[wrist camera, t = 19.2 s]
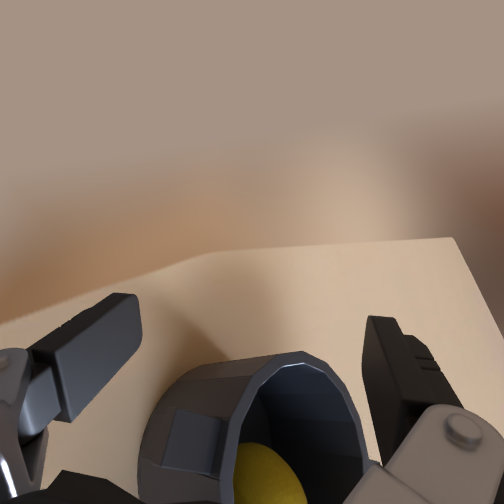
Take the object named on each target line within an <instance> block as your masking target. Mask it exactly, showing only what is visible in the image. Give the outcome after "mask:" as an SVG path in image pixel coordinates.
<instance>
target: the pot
mask: <svg viewBox="0 0 504 504" xmlns="http://www.w3.org/2000/svg"><path fill="white" fill-rule="evenodd" d="M249 442H253V443H258V444H261V445H264V446H266V447H268V448H270V449H272V450H273V451H274V452H276V453H277V454H278V455H279V456H280V457H281V458H282V459H283V460H284V461H285V462H286V463H287V464H288V465H289V466H290V468H291V469H292V470H293V472H294V473H295V475H296V476H297V478H298V480H299V482H300V484H301V486H302V488H303V490H304V493H305V496H306V499H307V504H343V502H344V501H345V500H346V498H347V497H348V496H349V494H350V493H351V492H352V490H353V489H354V488H355V486H356V485H357V484H358V482H359V481H360V480H361V478H362V477H363V476H364V474H365V473H366V472H367V471H368V469H369V468H370V467H371V466H372V465H374V464H375V463H378V464H380V462H377V461H374V460H370V459H369V457H368V452H367V447H366V443H365V438H364V434H363V429H362V425H361V420H360V417H359V414H358V412H357V410H356V408H355V405H354V403H353V401H352V399H351V396H350V394H349V392H348V390H347V388H346V386H345V384H344V383H343V382H342V380H341V379H340V378H339V377H338V376H337V374H336V373H335V372H334V371H333V370H332V368H331V367H330V366H329V365H328V364H327V363H326V362H324V361H322V360H320V359H318V358H316V357H314V356H312V355H310V354H308V353H306V352H304V351H298V352H290V353H282V354H275V355H268V356H261V357H254V358H247V359H240V360H233V361H227V362H220V363H213V364H206V365H201V366H199V367H197V368H195V369H193V370H191V371H189V372H187V373H186V374H184V375H183V376H182V377H180V378H179V379H178V380H176V381H175V382H174V383H173V384H172V385H171V386H170V387H169V389H168V390H167V391H166V392H165V394H164V395H163V396H162V397H161V399H160V401H159V402H158V404H157V405H156V407H155V409H154V411H153V413H152V415H151V417H150V419H149V421H148V424H147V426H146V429H145V432H144V435H143V439H142V443H141V446H140V453H139V459H138V473H137V479H138V493H139V498H140V501H142V502H144V503H146V504H166V503H179V502H191V501H204V500H208V501H213V502H217V503H222V504H234V493H233V482H232V477H233V471H234V465H235V459H236V453H237V447H238V445H239V444H241V443H249Z"/></svg>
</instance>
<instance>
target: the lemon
mask: <svg viewBox="0 0 504 504" xmlns="http://www.w3.org/2000/svg"><path fill="white" fill-rule="evenodd" d="M232 482H233V493H234V504H307V499H306V496H305V493H304V490H303V488H302V486H301V484H300V482H299V480H298V478H297V476H296V475H295V473H294V472H293V470H292V469H291V468H290V466H289V465H288V464H287V463H286V462H285V461H284V460H283V459H282V458H281V457H280V456H279V455H278V454H277V453H276V452H274V451H273V450H272V449H270V448H268V447H266V446H264V445H261V444H258V443H253V442H249V443H241V444H239V445H238V447H237V453H236V459H235V465H234V471H233V477H232Z"/></svg>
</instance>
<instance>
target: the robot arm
mask: <svg viewBox="0 0 504 504" xmlns="http://www.w3.org/2000/svg"><path fill="white" fill-rule="evenodd" d="M141 341H142V324H141V316H140V308H139V301H138V298H137V296H136V295H135V294H126V293H112V294H110V295H109V296H107V297H106V298H105V299H103V300H102V301H100V302H99V303H97V304H96V305H94V306H93V307H91V308H88V309H86V310H84V311H82V312H80V313H79V314H77V315H76V316H74V317H73V318H71V320H68V321H67V322H66V323H64V324H63V325H61V327H58V328H57V329H55V330H54V331H52V332H51V333H49V334H48V335H46V336H45V337H43V338H42V339H40V340H39V341H37V342H36V343H34V344H33V345H31V346H30V347H28V348H27V349H22V348H7V349H2V350H0V504H146V503H144V502H142V501H140V500H139V499H137V498H136V497H134V496H133V495H131V494H129V493H128V492H126V491H125V490H123V489H121V488H120V487H118V486H117V485H115V484H113V483H112V482H110V481H109V480H107V479H103V478H99V477H94V476H89V475H84V474H80V473H75V472H70V471H65V470H62V471H61V472H60V473H59V475H58V476H57V477H56V478H55V480H54V481H53V482H52V483H51V485H50V486H49V487H48V488H47V489H43V490H40V487H41V481H42V475H43V468H44V462H45V456H46V450H47V444H48V437H49V432H48V428H47V425H48V424H49V423H50V422H51V421H52V420H56V421H62V422H67V423H71V422H72V421H73V420H74V419H75V418H76V417H77V416H78V415H79V414H80V413H81V411H82V410H83V409H84V408H85V407H86V406H87V405H88V404H89V403H90V401H91V400H92V399H93V398H94V397H95V396H96V395H97V394H98V393H99V392H100V390H101V389H102V388H103V387H104V386H105V385H106V384H107V383H108V382H109V381H110V379H111V378H112V377H113V376H114V375H115V374H116V373H117V372H118V371H119V369H120V368H121V367H122V366H123V365H124V364H125V363H126V362H127V361H128V360H129V358H130V357H131V356H132V355H133V354H134V353H135V352H136V351H137V349H138V348H139V346H140V344H141ZM362 377H363V382H364V386H365V391H366V395H367V399H368V404H369V408H370V413H371V417H372V421H373V426H374V430H375V435H376V439H377V443H378V448H379V452H380V456H381V461H382V465H383V467H382V466H381V465H380V464H378V463H375V464H374V465H372V466H371V467H370V468H369V469H368V471H367V472H366V473H365V474H364V476H363V477H362V478H361V480H360V481H359V482H358V484H357V485H356V486H355V488H354V489H353V490H352V492H351V493H350V494H349V496H348V497H347V498H346V500H345V501H344V502H343V504H504V439H503V437H502V436H501V434H500V433H499V432H498V431H497V430H496V429H495V428H494V427H493V426H492V425H491V424H489V423H488V422H487V421H485V420H484V419H482V418H481V417H479V416H478V415H476V414H474V413H472V412H470V411H468V410H466V409H464V407H463V405H462V404H461V402H460V400H459V399H458V397H457V396H456V394H455V392H454V391H453V389H452V387H451V386H450V384H449V382H448V381H447V379H446V377H445V376H444V374H443V372H441V371H440V367H439V366H438V364H437V362H436V361H434V357H433V356H432V354H431V353H430V351H429V349H428V348H427V346H426V345H424V344H423V343H422V342H421V341H419V340H418V339H417V338H416V337H414V336H413V335H403V333H402V331H401V329H400V327H399V325H398V323H397V321H396V319H395V318H393V317H382V316H370V315H369V316H368V318H367V323H366V330H365V338H364V346H363V354H362ZM166 504H222V503H217V502H213V501H208V500H204V501H191V502H179V503H166Z"/></svg>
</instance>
